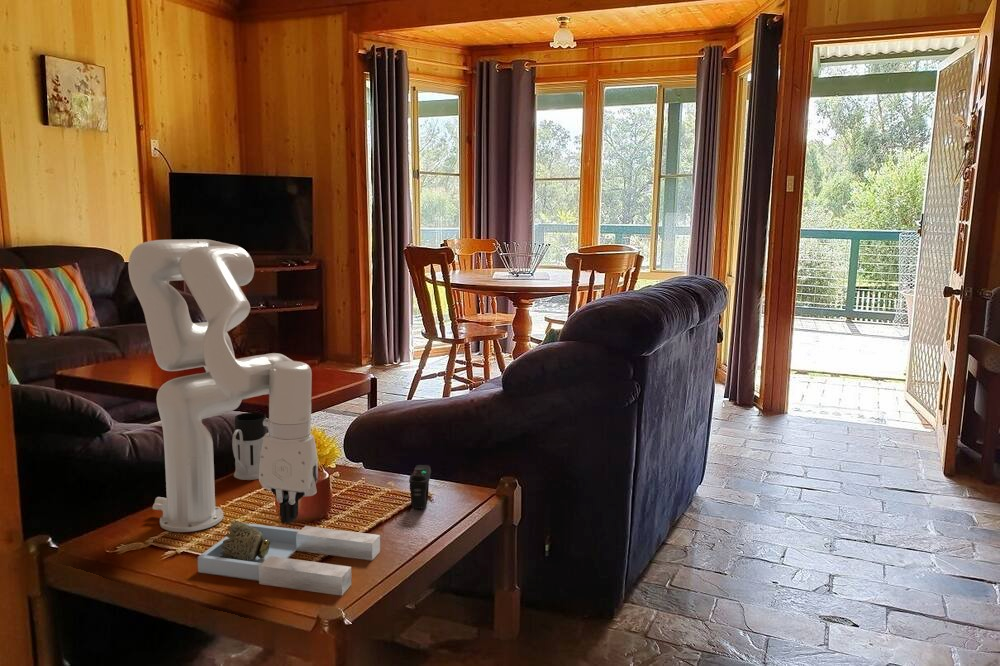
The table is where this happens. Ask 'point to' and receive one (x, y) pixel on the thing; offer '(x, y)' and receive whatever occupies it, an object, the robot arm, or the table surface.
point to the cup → (244, 543)
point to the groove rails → (316, 573)
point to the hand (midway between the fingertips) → (288, 520)
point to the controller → (420, 485)
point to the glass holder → (248, 444)
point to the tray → (279, 547)
